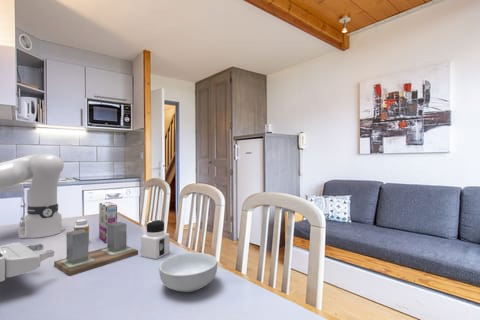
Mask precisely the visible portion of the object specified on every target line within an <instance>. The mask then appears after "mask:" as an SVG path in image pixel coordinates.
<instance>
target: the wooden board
mask: <svg viewBox="0 0 480 320" xmlns="http://www.w3.org/2000/svg"><path fill="white" fill-rule="evenodd" d="M138 255H139V250H138V249H136V248H133V247H130V246H128V245H127V249H126V250H122V251H119V252H115V253H113V252H111V251H109V250H107V247H103V248H100V249H95V250H93V251H92V250H91V251H88V261H84V262H81V263H77V264H74V265H72V264H70V263H69V262H67V257H66V258H62V259H59V260H53V267H55V268H57V269H58V270H60V271H61V272H63V273H64V274H66V275H67V276H70V277H71V276H74V275H77V274H81V273H83V272H86V271H90V270H93V269H96V268H100V267H103V266H105V265H106V266H107V265H109V264H112V263H115V262H118V261H122V260H123V259H127V258H131V257H134V256H138Z"/></svg>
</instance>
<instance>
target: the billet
mask: <svg viewBox="0 0 480 320" xmlns="http://www.w3.org/2000/svg"><path fill="white" fill-rule="evenodd" d="M127 242H128V241H127V223H125V222H122V221H117V222H116V223H111V224H107V243H106V244H107V250H109V251H111V252H113V253H115V252H119V251H122V250H126V249H127V246H128V245H127Z"/></svg>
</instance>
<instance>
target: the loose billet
mask: <svg viewBox="0 0 480 320" xmlns="http://www.w3.org/2000/svg"><path fill="white" fill-rule="evenodd" d="M88 252H89V242H88V231H85V230H83V229H81V230H76V231H74V230H73V231H67V232H66V258H67V262H69V263H70V264H72V265H74V264H77V263H81V262H84V261H88Z"/></svg>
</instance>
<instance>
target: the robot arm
mask: <svg viewBox="0 0 480 320" xmlns="http://www.w3.org/2000/svg"><path fill="white" fill-rule="evenodd" d="M64 165H65V164H64V161H63V160H62V159H61V158H60V157H59V156H57V155H55V154H53V153H34V154H29V155H25V156H22V157H17V158H15V159H11V160H8V161H7V160H5V161H1V162H0V190H2V189H5V188H8V187H9V188H10V187H12V186H16V185H19V184H21V183H23V182H26V181H28V180H31V184H30V186H29V188H28V206H27V208H26V210H27V211H26V213H27V215H25V217H24V219H23V220H22V221H20V222H19V227H20V229H18V230H17V235H18V239H36V238H45V237H50V236H54V235H58V234H60V233H62V232H64V231H65V230H66V227H63V218H62V214H61V213H59V203H58V185H59V181H60V176H61V173H62V171H64V170H63V169H64ZM43 250H44V244H42V243H38V244H26V245H25V244H24V243H22V242H19V241H17V242H11V243H6V244H3V245H0V283H1V282H4V281H5V280H6V278H12V277H17V276H20V275H23V274H26V273H29V272H32V271H35V270H37V269H38V268H40V267H41V262H43V261H45V260H47V259H49V258H52V257H54V256H55V250H52V249H49V250H48V249H47V250H45V251H44V252H39V251H43ZM37 252H39V253H37Z"/></svg>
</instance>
